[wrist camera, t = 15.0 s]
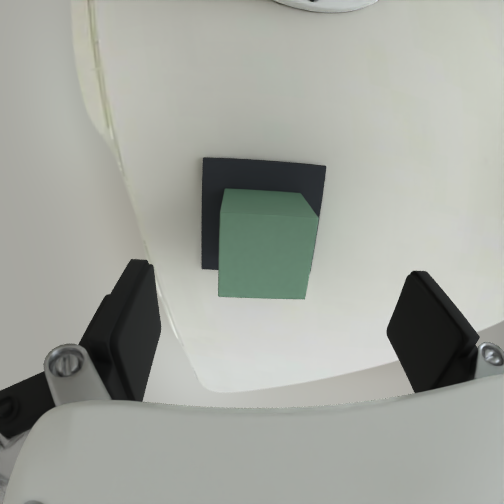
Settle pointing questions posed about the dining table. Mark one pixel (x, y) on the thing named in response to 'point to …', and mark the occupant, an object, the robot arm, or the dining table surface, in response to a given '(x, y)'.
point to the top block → (265, 244)
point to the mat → (252, 178)
